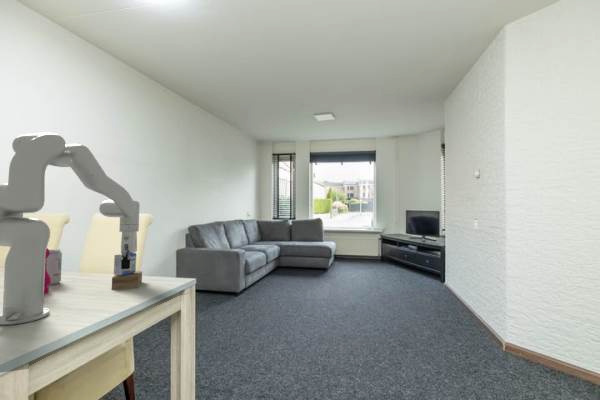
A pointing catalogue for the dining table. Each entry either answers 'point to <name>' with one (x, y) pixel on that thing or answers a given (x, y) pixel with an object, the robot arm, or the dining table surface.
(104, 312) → the dining table surface
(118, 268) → the medicine box
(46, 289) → the pepper mill
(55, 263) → the grey upright box
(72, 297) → the dining table surface
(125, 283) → the walnut plinth
